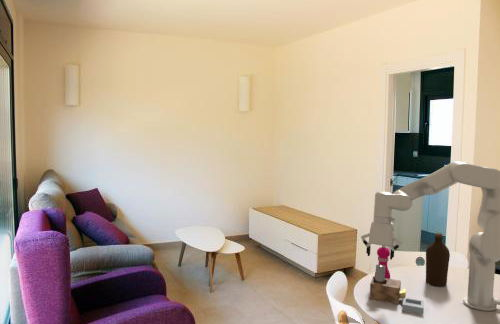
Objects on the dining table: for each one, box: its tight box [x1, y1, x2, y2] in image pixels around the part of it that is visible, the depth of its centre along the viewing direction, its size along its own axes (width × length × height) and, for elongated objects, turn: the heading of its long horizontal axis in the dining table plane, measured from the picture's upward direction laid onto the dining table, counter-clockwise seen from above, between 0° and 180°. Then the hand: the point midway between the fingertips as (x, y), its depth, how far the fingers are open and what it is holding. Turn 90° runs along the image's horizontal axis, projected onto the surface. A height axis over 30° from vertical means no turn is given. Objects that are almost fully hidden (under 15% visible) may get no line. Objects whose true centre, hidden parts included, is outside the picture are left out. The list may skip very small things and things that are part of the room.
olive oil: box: [425, 232, 451, 288], centre depth 198 cm, size 11×11×25 cm
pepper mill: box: [374, 245, 391, 279], centre depth 196 cm, size 7×7×20 cm
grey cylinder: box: [375, 263, 385, 284], centre depth 182 cm, size 4×4×14 cm
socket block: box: [369, 275, 402, 305], centre depth 181 cm, size 12×10×7 cm
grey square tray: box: [401, 296, 425, 315], centre depth 170 cm, size 8×8×3 cm
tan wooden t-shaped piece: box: [399, 288, 407, 302], centre depth 179 cm, size 7×4×4 cm, turn 65°
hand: (379, 257), depth 181 cm, fingers open, 9 cm apart
